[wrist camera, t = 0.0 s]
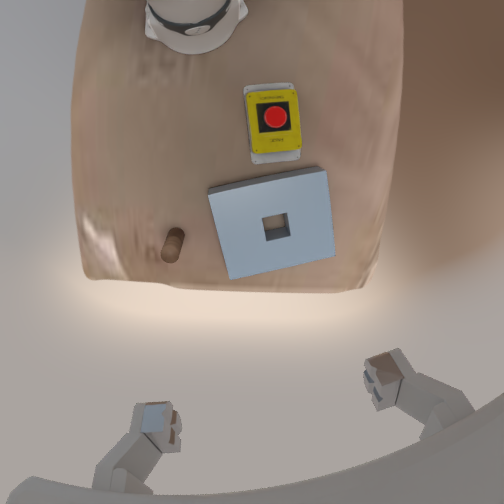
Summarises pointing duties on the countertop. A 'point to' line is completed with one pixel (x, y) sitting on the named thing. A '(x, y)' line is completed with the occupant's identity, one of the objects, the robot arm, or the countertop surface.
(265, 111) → the emergency button
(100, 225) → the countertop surface
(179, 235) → the peg
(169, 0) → the robot arm
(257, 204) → the socket block
